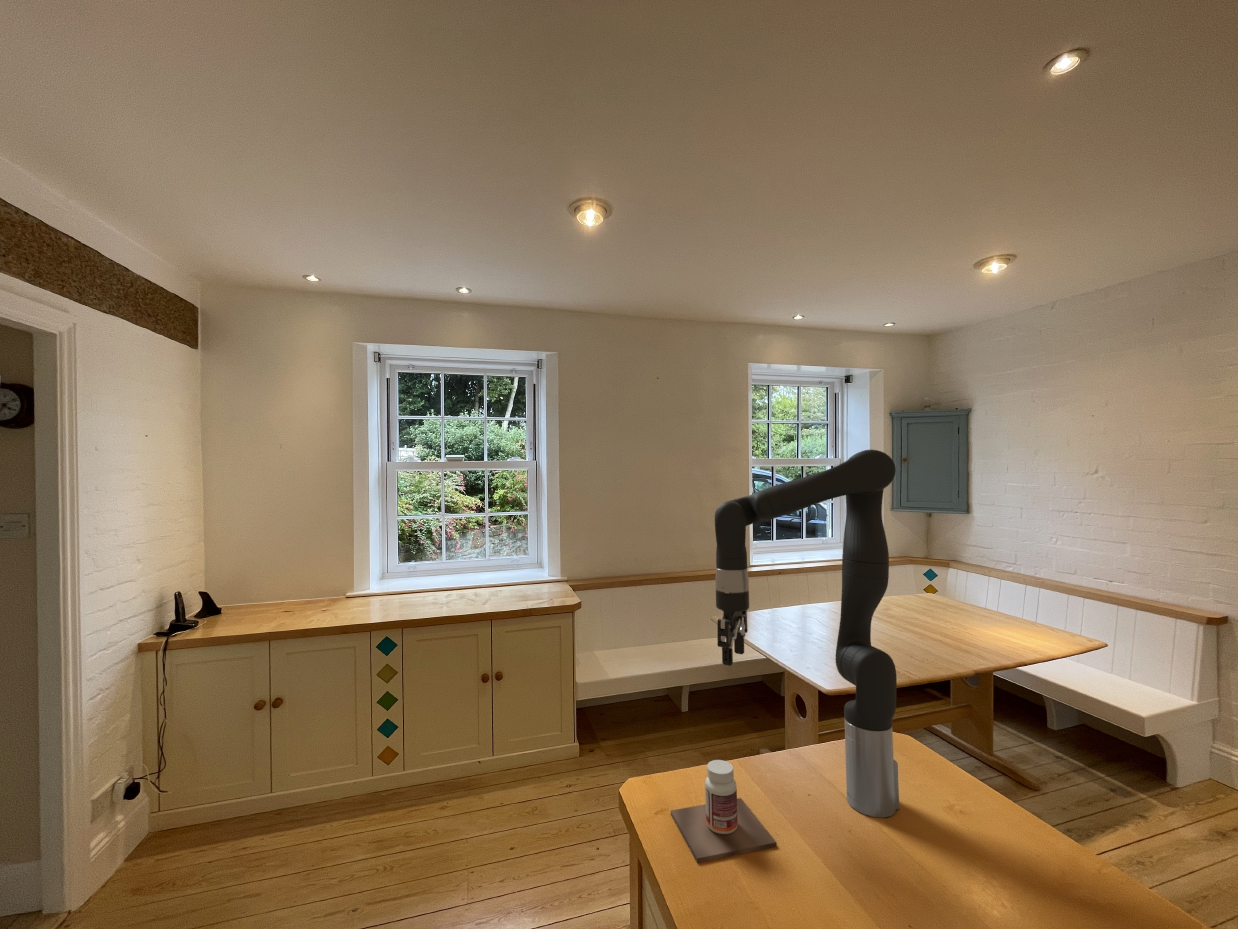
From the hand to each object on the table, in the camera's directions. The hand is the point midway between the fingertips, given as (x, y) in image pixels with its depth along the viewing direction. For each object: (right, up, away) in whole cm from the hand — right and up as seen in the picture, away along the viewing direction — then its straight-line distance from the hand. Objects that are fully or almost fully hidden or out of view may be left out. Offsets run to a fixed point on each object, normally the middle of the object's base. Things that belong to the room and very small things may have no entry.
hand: (733, 659), depth 116 cm
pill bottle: (-6, -27, -16) cm, 32 cm away
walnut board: (-6, -28, -16) cm, 33 cm away
